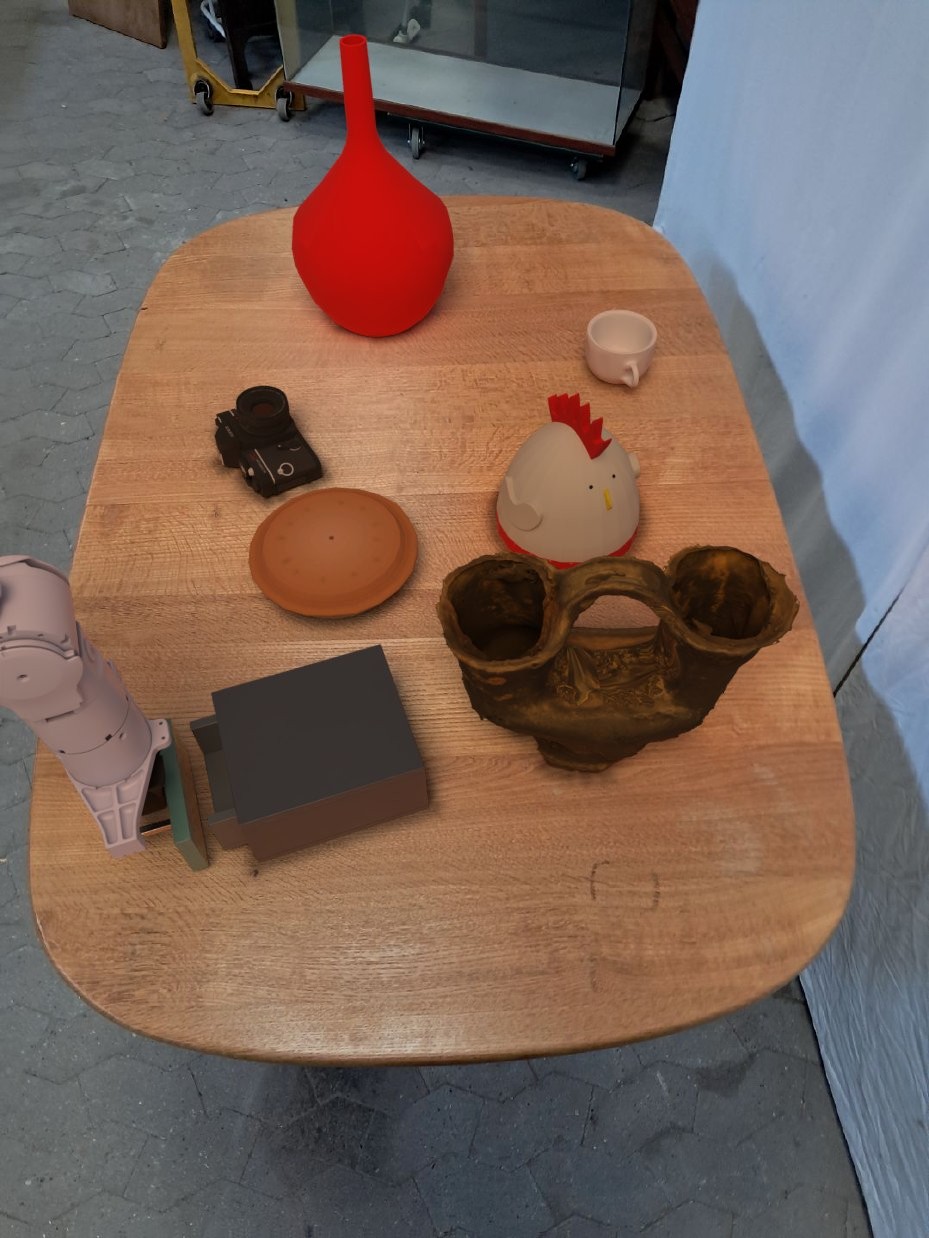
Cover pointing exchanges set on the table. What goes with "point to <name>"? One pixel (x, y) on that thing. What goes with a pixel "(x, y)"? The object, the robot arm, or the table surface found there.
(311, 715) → the dark grey storage box
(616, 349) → the teacup
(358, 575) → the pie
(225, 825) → the drawer
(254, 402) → the film camera
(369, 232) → the vase
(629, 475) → the kitchen timer
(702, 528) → the table surface
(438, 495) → the table surface
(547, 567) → the pottery vessel
